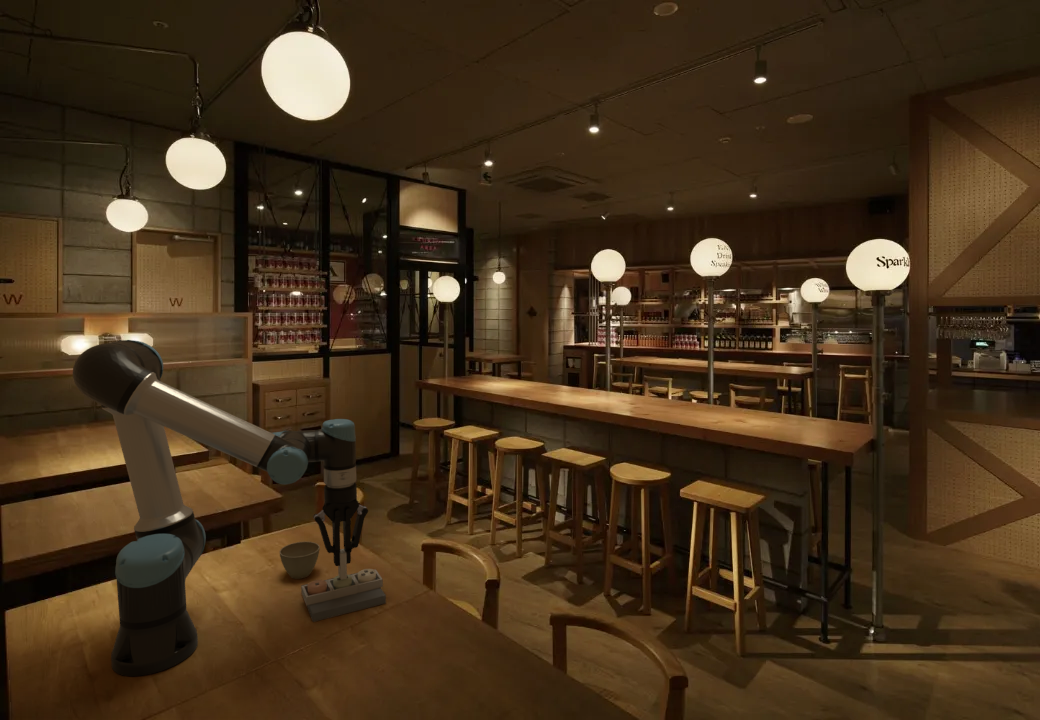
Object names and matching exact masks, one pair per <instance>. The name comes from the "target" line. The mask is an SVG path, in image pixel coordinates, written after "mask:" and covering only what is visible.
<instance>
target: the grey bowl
mask: <svg viewBox="0 0 1040 720" xmlns="http://www.w3.org/2000/svg"><path fill="white" fill-rule="evenodd" d="M320 548H321V547H320V545H319V544H318V543H317V542H315V541H314V542H313V541H298V542H292V543H289V544H287V545H285V546H283V547H281V549H280V550H279V557H280V561H281V563H282V564H281V565H282V566H283V568H284V570H285V572H286V573H287V575H289V577H290V578H291V579H294V580H299V579H304V578H307V577H309V576H310V575H311V573H312V571H314V568H315V567H316V564H317V561H318V558H319V555H320Z"/></svg>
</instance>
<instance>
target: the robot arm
mask: <svg viewBox="0 0 1040 720" xmlns="http://www.w3.org/2000/svg"><path fill="white" fill-rule="evenodd" d="M163 372H164V361H163V359H162V357H161V354H160V353H159V352H158V351H157V350H156V349H155V348H154V347H153V346H151V345H149V344H148V343H145V342H143V341H139V340H135V339H134V340H133V339H125V340H124V339H123V340H122V339H119V340H117V341H111V342H107V343H101V344H97V345H93V346H91V347H89V348H87V349H86V350H84V351H83V352H82V353H81V354H79V356H78V357H77V358H76V360H75V362H74V364H73V367H72V378H73V382H74V384H75V386H76V388H77V390H78V391H79V392H81V394H83V395H84V396H85V397H86V398H88V399H90V400H91V401H93V402H95V403H97V404H99V405H100V407H101V409H102V410H104V411H105V412H107V413H110V415H112V417H113V421H114V425H115V430H116V433H117V436H118V441H119V444H120V448H121V451H122V455H123V460H124V462H125V466H126V471H127V474H128V478H129V481H130V486H131V490H132V492H133V497H134V500H135V501H134V502H135V504H136V505H135V506H136V509H137V512H138V516H139V518H138V520H137V522H136V524H135V525H133V530H134V533H135V537H136V540H135V541H131V542H129V543H127V544H126V545H124V547H123V548H122V549H121V550H119V553H118V554H117V557H116V561H115V563H116V564H115V568H114V569H115V570H114V571H115V572H114V574H115V579H116V589H117V590H116V592H117V602H118V603H117V604H118V617H119V628H118V632H117V634H116V638H115V642H114V644H113V648H112V651H111V657H110V660H111V668H112V670H113V672H114V673H116V674H119V675H121V676H124V677H125V676H127V677H140V676H147V675H151V674H155V673H159V672H161V671H165V670H167V669H168V670H169V669H170V668H173V667H174V666H176V665H179V663H181V662H184V661H185V660H186V659H187V658H189V657H190V656H191V655H192V654H193V653H194V652H195V651H196V649H197V647H198V643H199V640H198V639H199V638H198V630H197V629H196V626H195V624H194V622H193V620H192V618H191V616H190V614H189V612H188V608H187V595H186V580H187V578H188V576H189V574H190V573H191V572H192V569H193V568H194V567H195V565H196V563H197V562H198V561H199V559H200V558H201V556H202V554H203V552H204V549H205V545H206V540H207V539H206V538H207V537H206V536H207V535H206V532H205V528H204V526H203V525H202V523H201V522H200V521H199V519H196V517H195V514H194V510H193V508H192V507H189V506H188V505H185V504H184V500H183V496H182V493H181V488H180V485H179V482H178V477H177V474H176V470H175V466H174V461H173V457H172V454H171V450H170V445H169V442H168V436H167V433H166V429H165V428H167V429H170V430H172V431H174V432H176V433H179V434H181V435H182V436H185V437H188V438H190V439H191V440H195V441H197V442H199V443H201V444H204V445H206V446H208V447H210V448H212V449H215V450H217V451H219V452H222V453H224V454H226V455H229V456H230V457H233V458H236V459H237V460H240V461H242V462H245V463H247V464H249V465H251V466H253V467H256V468H258V469H260V470H262V471H265V472H267V475H268V476H269V477H270V479H271V480H272V481H274V482H275V483H277V484H280V485H290V484H293V483H296V482H297V481H299V480H300V479H301V478H302V477H303V476H304V474H305V473H306V471H307V469H308V465H309V463H317V462H322V463H323V484H324V486H323V492H324V495H323V496H324V498H323V499H324V502H323V506H322V509H321V510H320V512H318V513H315V514H313V516H312V517H313V520H314V521H315V523H316V524H317V525H318V529H319V531H320V535H321V538H322V541H323V545H324V547H325V550H326V552H327V553H328V554H333V563H334V564H333V565H334V566H335V567H337V568H338V569H337V572H338V573H337V576H338V575H339V577H340V579H341V580H342V579H346V578H347V574H348V569H347V568H348V567H347V565H348V564H351V561H352V560H351V559H352V557H351V554H352V551H353V549H356V548H358V547H359V543H360V539H361V535H362V530H363V525H364V521H365V518H366V516H367V514H368V512H369V509H368V508H367V506H366V505H361V504H360V503H359V501H358V497H357V496H358V494H357V491H358V490H357V487H358V486H357V483H356V482H357V442H356V441H357V440H356V439H357V437H356V426H355V422H354V421H352V420H350V419H346V418H335V419H329V420H324V422H323V423H322V427H321V429H314V430H312V429H310V430H290V431H289V430H283V431H276V432H275V431H274V432H270V431H267V430H266V429H264V428H261V427H260V426H258V425H255V424H253V423H251V422H249V421H246V420H245V419H243V418H240V417H239V416H236V415H234V414H231V413H230V412H227V411H225V410H223V409H221V408H220V407H217V406H215V405H212V404H210V403H208V402H205V401H203V400H202V399H199V398H197V397H194V396H193V395H191V394H189V393H187V392H185V391H183V390H180V389H177V388H176V387H173V386H172V385H169V384H167V383H165V382H163V381H162V380H161V378H162V377H163ZM355 513H357V514H356V518H355V521H354V527H353V532H351V531H352V529H351V524H352V521H351V520H352V518H353V516H354V515H355ZM325 517H328V519H329V520H330V521H331V524H332V544H331V541H330V537H329V533H328V531H327V527H326V523H325V520H326V518H325ZM341 522H342V528H343V529H342V532H343V534H342V535H343V548H341V531H340V530H341ZM351 535H352V536H351Z"/></svg>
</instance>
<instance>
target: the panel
mask: <svg viewBox="0 0 1040 720" xmlns="http://www.w3.org/2000/svg"><path fill="white" fill-rule="evenodd" d="M374 570H375V571H376V580H374V581H369V582H365V583H361V584H359V583H358V572H356V573H351V574H349V575H351V576H352V586H348V587H344V588H340V589H335V590H334V588H333V579H334V578H335V577H333V578H328V579H324V581H326V582H327V592H323V593H318V594H314V595H310V596H308V584H309V583H307V584H306V583H305V584H302V585H301V587H300V589H301V590H300V591H301V592H300V593H301V595H302V598H303V600H304V604H305V605H306V608H307V610H308V614H309V616H310V618H311V621H312V623H315V622H319V621H321V620H326V619H330V618H333V617H338V616H341V615H342V616H343V615H346V614H349V613H352V612H357V611H362V610H365V609H368V608H372V607H377V606H379V605H385V604H387V600H386V599H387V595H386V594H385V592H384V590H383V589H382V588H383V587H384V584H383V582H384V581H383V578H382V576H381V574H380V573H379V572H378V570H377V569H376V568H375V569H374Z"/></svg>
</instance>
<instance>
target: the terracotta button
mask: <svg viewBox="0 0 1040 720" xmlns="http://www.w3.org/2000/svg"><path fill="white" fill-rule="evenodd" d="M324 580H325V579H324ZM324 580H323V579H315V580H313V581H310V582H309V583H307V584H308V596H310V595H314V594H318V593H323V592H327V582H326V581H324Z"/></svg>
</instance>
